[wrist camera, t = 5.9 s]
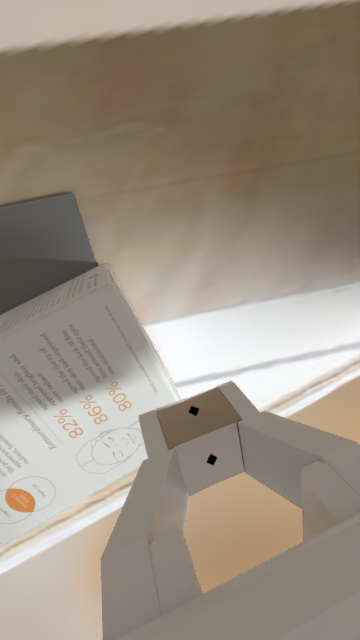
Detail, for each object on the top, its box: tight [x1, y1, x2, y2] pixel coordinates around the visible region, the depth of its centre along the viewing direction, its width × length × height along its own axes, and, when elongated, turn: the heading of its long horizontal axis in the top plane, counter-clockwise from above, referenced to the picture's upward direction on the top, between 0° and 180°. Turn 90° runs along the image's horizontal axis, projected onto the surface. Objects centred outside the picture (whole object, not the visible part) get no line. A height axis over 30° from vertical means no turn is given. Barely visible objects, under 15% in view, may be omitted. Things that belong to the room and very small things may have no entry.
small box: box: [0, 263, 181, 548], centre depth 13 cm, size 8×6×10 cm
